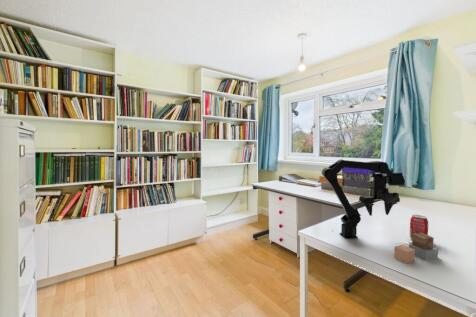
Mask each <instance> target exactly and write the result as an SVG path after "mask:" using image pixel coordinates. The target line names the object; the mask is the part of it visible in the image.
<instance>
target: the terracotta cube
mask: <svg viewBox="0 0 476 317" xmlns="http://www.w3.org/2000/svg"><path fill="white" fill-rule="evenodd" d="M393 251H394V252H393V253H394V254H393V256H394V257H393V258H394V259H395V260H398V261H400V262H403V263H404V264H410V263H412V262H415V258H416V257H415V256H416V255H415V249H412V248H410V247H409V246H408V245H406V244H405V245H404V244H399V245H395V246H394V250H393Z"/></svg>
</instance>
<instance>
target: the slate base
mask: <svg viewBox="0 0 476 317" xmlns="http://www.w3.org/2000/svg"><path fill="white" fill-rule="evenodd" d="M408 247H410V248H412V249H415V256H416V257H417V258H420V259H422V260H425V261H428V260H432V259H437V258H439V257H438V256H439V248H436V247H434V246H433V249H428V250H422V249H420V248H418V247H416V246H414V245H412V244H409V245H408Z"/></svg>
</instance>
